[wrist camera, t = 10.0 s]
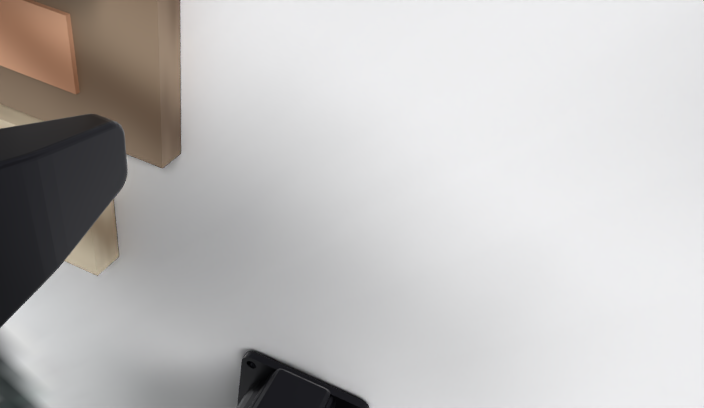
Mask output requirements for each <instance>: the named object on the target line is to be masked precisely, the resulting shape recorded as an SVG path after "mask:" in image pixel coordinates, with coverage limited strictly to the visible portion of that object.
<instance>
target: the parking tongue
mask: <svg viewBox="0 0 704 408" xmlns="http://www.w3.org/2000/svg"><path fill="white" fill-rule="evenodd" d="M37 122H43V121H42V120H40V119H37V118H35V117H32V116H30V115H27V114H25V113H22V112H20V111H17V110H15V109H12V108H10V107H7V106H5V105H2V104H0V129H1V128H7V127H13V126H19V125H25V124H31V123H37ZM118 257H119V251H118V241H117V231H116V220H115V210H114V200H112V201H111V203H110V204H109V205H108V207H107V208H106V209H105V210H104V212H103V213H102V214H101V215H100V217H99V218H98V219H97V220H96V222H95V223H94V224H93V225H92V227H91V228H90V229H89V231H88V232H87V233H86V234H85V236H84V237H83V238H82V239H81V241H80V242H79V243H78V244H77V246H76V247H75V248H74V249H73V251H72V252H71V253H70V255H69V256H68V257H67V258H66V259H65V260H64V261H65V262H68V263H70V264H72V265H74V266H77V267H79V268H81V269H83V270H85V271H88V272H90V273H92V274H94V275H97V276H98V275H99V274H100V273H101V272H103V271H104V270H105V269H106V268H107V267H108V266H109V265H110V264H111V263H112V262H114V261H115V260H116V259H117V258H118Z"/></svg>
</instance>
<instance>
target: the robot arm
mask: <svg viewBox="0 0 704 408" xmlns="http://www.w3.org/2000/svg"><path fill="white" fill-rule="evenodd" d="M126 177H127V159H126V145H125V134H124V130H123V128H122V126H121V125H120V124H119V123H118V122H116V121H113V120H111V119H108V118H106V117H103V116H101V115H97V114H85V115H79V116H73V117H67V118H61V119H55V120H49V121H43V122H37V123H31V124H25V125H19V126H13V127H7V128H1V129H0V328H1V326H2V325H3V324H4V323H5V322H6V321H7V320H8V319H9V318H10V317H11V316H12V315H13V314H14V313H15V312H16V311H17V310H18V309H19V308H20V307H21V306H22V305H23V304H24V303H25V302H26V301H27V300H28V299H29V298H30V297H31V296H32V295H33V294H34V293H35V292H36V291H37V290H38V289H39V288H40V287H41V286H42V285H43V284H44V283H45V282H46V280H47V279H48V278H49V277H50V276H51V275H52V274H53V273H54V272H55V271H56V270H57V269H58V268H59V266H60V265H61V264H62V263H63V262H64V260H65V259H66V258H67V257H68V256H69V255H70V253H71V252H72V251H73V249H74V248H75V247H76V246H77V244H78V243H79V242H80V241H81V239H82V238H83V237H84V236H85V234H86V233H87V232H88V231H89V229H90V228H91V227H92V225H93V224H94V223H95V222H96V220H97V219H98V218H99V217H100V215H101V214H102V213H103V212H104V210H105V209H106V208H107V207H108V205H109V204H110V203H111V201H112V200H113V199H114V198H115V196H116V195H117V194H118V193H119V191H120V190H121V189H122V187H123V185H124V183H125V181H126ZM237 408H369V406H368V404H367V403H366V402H364V401H363V400H361V399H359V398H356V397H354V396H352V395H350V394H348V393H345V392H343V391H341V390H339V389H336V388H334V387H332V386H330V385H328V384H325V383H323V382H321V381H319V380H316V379H314V378H312V377H310V376H308V375H305V374H303V373H301V372H299V371H296V370H294V369H292V368H290V367H288V366H285V365H283V364H281V363H279V362H276V361H274V360H272V359H270V358H268V357H265V356H263V355H261V354H259V353H257V352H253V351H249V352H247V353H246V355H245V356H244V358H243V359H242V366H241V376H240V386H239V397H238V406H237Z"/></svg>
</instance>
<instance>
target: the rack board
mask: <svg viewBox="0 0 704 408" xmlns="http://www.w3.org/2000/svg"><path fill="white" fill-rule="evenodd" d="M0 104H2V105H5V106H7V107H10V108H12V109H15V110H17V111H20V112H22V113H25V114H27V115H30V116H32V117H35V118H37V119H40V120H42V121H49V120H55V119H61V118H67V117H73V116H79V115H85V114H97V115H101V116H103V117H106V118H108V119H111V120H113V121H116V122H118V123H119V124H120V125H121V126H122V128H123V130H124V134H125V145H126V154H128V155H130V156H133V157H135V158H138V159H140V160H143V161H145V162H148V163H150V164H153V165H155V166H158V167H160V168H164V167H165V166H166V165H167V164H169V163H170V162H171V161H172V160H174V159H175V158H176V157H177V156H178V155H180V154H181V103H180V0H0Z"/></svg>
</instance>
